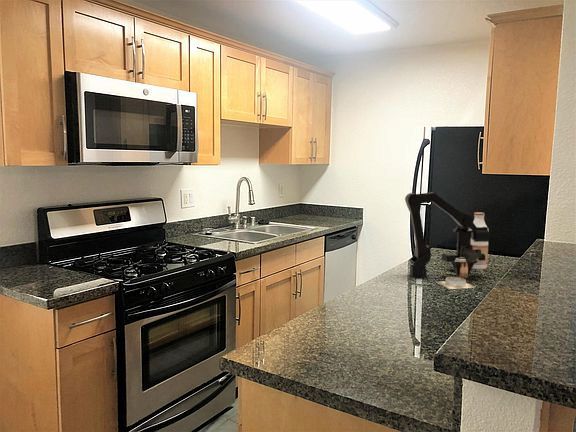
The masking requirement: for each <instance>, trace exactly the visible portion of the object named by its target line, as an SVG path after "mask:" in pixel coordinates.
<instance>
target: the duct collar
mask: <svg viewBox="0 0 576 432" xmlns="http://www.w3.org/2000/svg"><path fill="white" fill-rule="evenodd" d="M466 283H467V278H461V277H458V276H446V277H445V284H446V285H448V286H452V287H464V286H465V285H466Z"/></svg>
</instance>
